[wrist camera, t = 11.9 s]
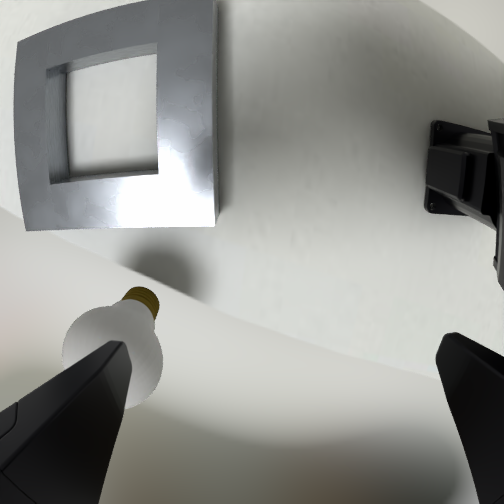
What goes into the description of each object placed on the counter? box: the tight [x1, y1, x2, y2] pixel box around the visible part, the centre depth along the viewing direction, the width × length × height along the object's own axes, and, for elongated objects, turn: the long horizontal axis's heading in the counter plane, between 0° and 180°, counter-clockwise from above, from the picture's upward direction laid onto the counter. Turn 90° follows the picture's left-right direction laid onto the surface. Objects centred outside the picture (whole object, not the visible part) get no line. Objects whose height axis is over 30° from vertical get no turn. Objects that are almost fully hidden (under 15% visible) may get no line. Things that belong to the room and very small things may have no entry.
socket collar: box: [14, 0, 219, 231], centre depth 16 cm, size 14×14×2 cm
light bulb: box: [62, 287, 163, 409], centre depth 17 cm, size 6×6×10 cm
